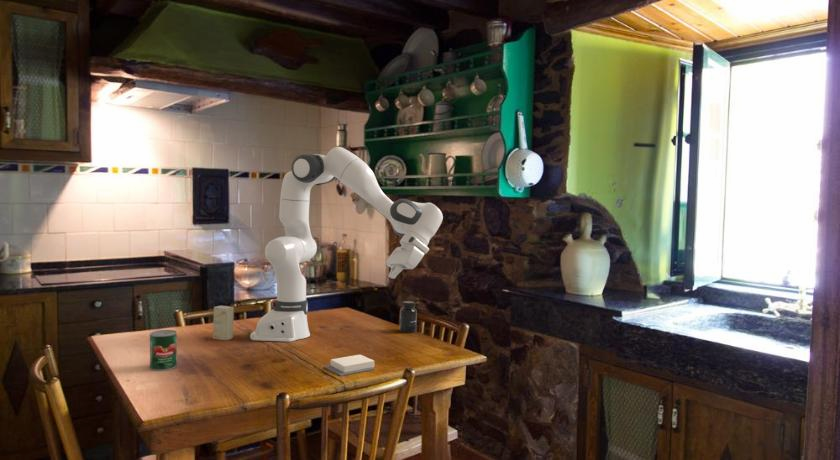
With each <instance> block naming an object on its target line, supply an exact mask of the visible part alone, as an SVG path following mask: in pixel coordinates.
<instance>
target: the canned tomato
mask: <svg viewBox="0 0 840 460" xmlns="http://www.w3.org/2000/svg"><path fill="white" fill-rule="evenodd" d="M177 333H178V332H177V330H174V329H162V330H155V331H151V332H150V333H149V369H150V370H151V371H156V372H160V371H162V372H163V371H169V370H173V369H175V368H177V366H178V363H177V362H178V355H177V354H178V352H177V351H178V349H177V348H178V347H177V346H178V344H177V343H178V341H177V339H178V338H177V337H178V335H177Z"/></svg>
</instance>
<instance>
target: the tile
mask: <svg viewBox="0 0 840 460" xmlns="http://www.w3.org/2000/svg"><path fill="white" fill-rule="evenodd" d="M330 365H331V366H332V367H334V368H336V369H338V370H340V371H342V372H344V373H346V372H351V371H357V370H362V369H367V368H375V366H376V365H375V360H374V359H372V358H369V357H367V356H365V355H363V354H354V355H348V356H344V357H338V358H337V357H336V358H331V359H330Z"/></svg>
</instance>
